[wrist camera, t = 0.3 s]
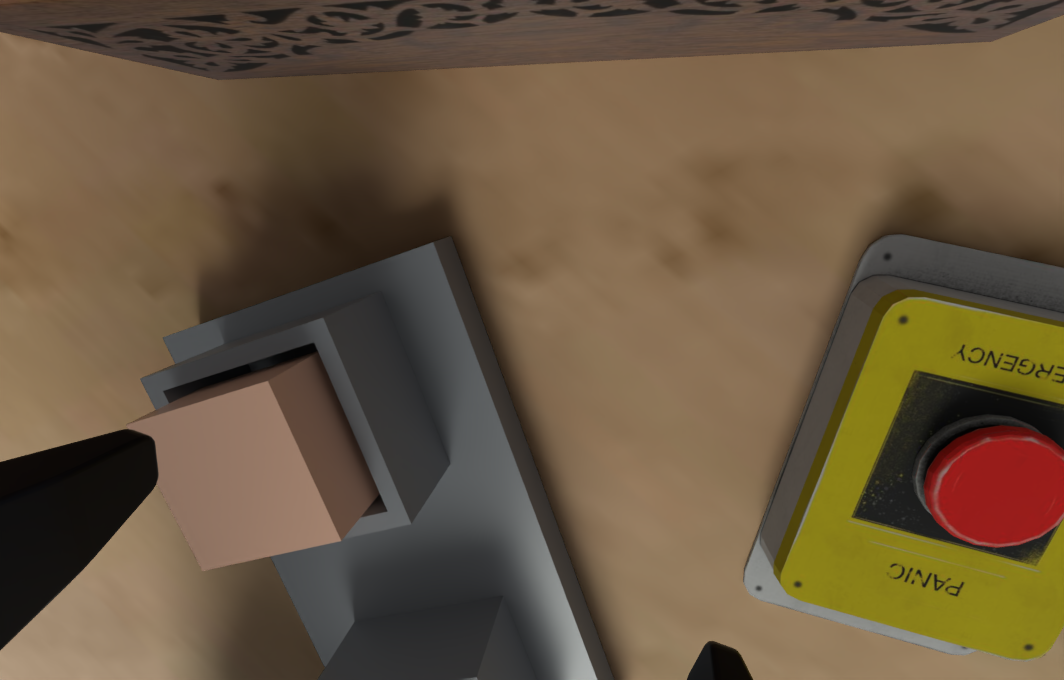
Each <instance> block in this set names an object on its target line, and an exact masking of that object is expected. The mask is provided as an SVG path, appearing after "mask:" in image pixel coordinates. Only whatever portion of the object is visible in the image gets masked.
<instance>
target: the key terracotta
mask: <svg viewBox="0 0 1064 680" xmlns="http://www.w3.org/2000/svg"><path fill="white" fill-rule="evenodd" d="M126 426H127V428H128V429H131V430H135V431H138V432H141V433H143V434H146V435H149V436H151V437H152V438H153V439H154V441H155V445H156V454H157V463H158V472H159V476H158V481H157V485H158V487H159V489H160V491H161V493H162V495H163V496H164V498H165V500H166V502H167V504H168V506H169V508H170V510H171V512H172V514H173V516H174V517H175V519H176V521H177V523H178V525H179V527H180V529H181V531H182V533H183V535H184V537H185V539H186V540H187V542H188V544H189V546H190V548H191V550H192V552H193V554H194V556H195V558H196V560H197V561H198V563H199V565H200V567H201V569H202V571H205V570H210V569H215V568H219V567H224V566H228V565H233V564H238V563H242V562H247V561H251V560H256V559H261V558H265V557H270V556H274V555H279V554H284V553H288V552H293V551H297V550H302V549H307V548H311V547H316V546H320V545H325V544H330V543H334V542H339V541H342V539H343V538H344V537H345V536H346V535H347V533H348V532H349V531H350V530H351V528H352V527H353V526H354V525H355V523H356V522H357V521H358V520H359V519H360V517H361V516H362V515H363V514H364V512H365V511H366V510H367V509H368V507H369V506H370V505H371V504H372V502H373V501H374V500H375V499H376V498H377V496H378V495H379V494H380V493H379V490H378V488H377V486H376V483H375V481H374V479H373V477H372V474H371V472H370V470H369V467H368V465H367V463H366V460H365V458H364V456H363V454H362V451H361V449H360V447H359V444H358V442H357V440H356V437H355V435H354V433H353V431H352V428H351V426H350V424H349V421H348V419H347V417H346V414H345V412H344V410H343V408H342V405H341V403H340V401H339V398H338V396H337V394H336V391H335V389H334V387H333V385H332V382H331V380H330V378H329V375H328V373H327V371H326V368H325V366H324V364H323V362H322V359H321V357H320V355H319V352H318V351H316V352H313V353H310V354H307V355H304V356H300V357H297V358H294V359H291V360H288V361H285V362H282V363H278V364H275V365H272V366H269V367H266V368H263V369H260V370H256V371H253V372H250V373H247V374H244V375H241V376H237V377H234V378H231V379H228V380H225V381H222V382H219V383H215V384H212V385H209V386H206V387H203V388H200V389H198V390H196V391H194V392H192V393H190V394H188V395H186V396H184V397H182V398H180V399H178V400H176V401H173V402H171V403H169V404H167V405H165V406H163V407H161V408H159V409H157V410H155V411H153V412H151V413H149V414H147V415H145V416H143V417H141V418H139V419H137V420H135V421H133V422H131V423H129V424H127V425H126Z"/></svg>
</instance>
